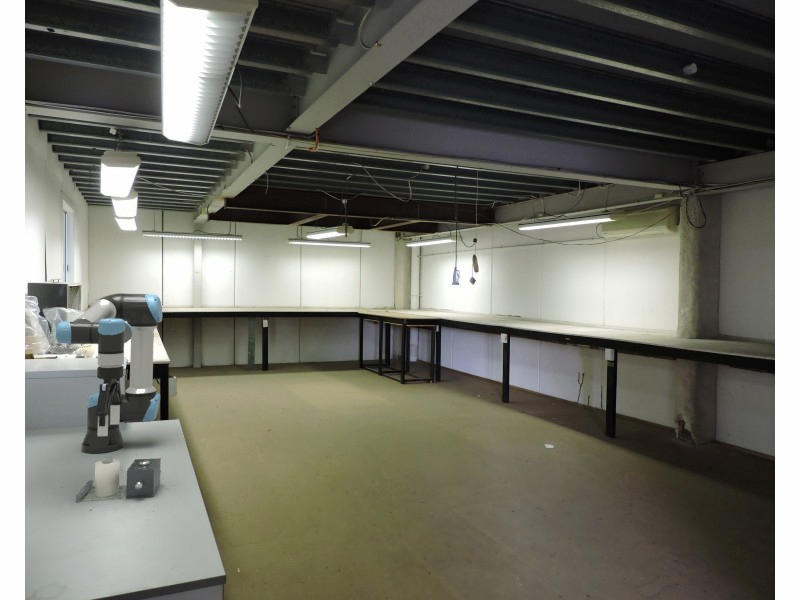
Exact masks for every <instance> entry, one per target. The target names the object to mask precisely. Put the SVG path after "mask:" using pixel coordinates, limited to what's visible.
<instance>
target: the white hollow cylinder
mask: <svg viewBox="0 0 800 600" xmlns="http://www.w3.org/2000/svg"><path fill="white" fill-rule="evenodd" d="M120 463H121V462H120V459H118V458H113V457H112V456H108V457H103V458H102V459H101V460H98V461H96V462H95V463H94V487H95V491H94V495H95V496H98V497H106V496H111V495H114V494H116V493H118V492H119V486H120V466H121V465H120Z"/></svg>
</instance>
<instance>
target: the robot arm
mask: <svg viewBox="0 0 800 600" xmlns="http://www.w3.org/2000/svg"><path fill="white" fill-rule="evenodd" d="M162 321H163V306H162V301H161V299H160V297H159V296H158V295H157V294H152V293H151V294H149V293H119V292H118V293H113V294H108V295H106V296H102V297H100V298H98V299H96V300H95V301H93V302H92V303H91V304H90V306H89V309H87V310H86V311H85V312H84V313H82V314H81V315H80V316H78V317H77V318H76V319H74V320H73V321H70V320H68V321H59V322H58V323H57V326H56V328H55V339H56V341H57V342H58V344H63V345H65V344H66V345H97V355H96V356H95V359H97V365H98V366H97V368H96V369H97V371H96V377H97V379H99V380H103V383H100V384H99V391H98V392H97V393H93V394H92V395H90V396H89V397H88V399H87V400H88V401H87V406H86V407H87V418H86V419H87V422H86V424H87V426H86V433H85V436H84V437H83V440H82V443H81V451H82V452H83V453H86V454H103V453H111V452H114V451H117V450H121V449H122V448H123V447H124V445H125V444H124V438H123V435H122V434H123V433H122V431H121V430H120V423H145V422H153V421H154V420H156V418H157V415H158V412H159V408H160V403H161V402H160V401H161V394H160V393H159V392H157V388H156V387H155V386H153V381H154V380H153V377H154V376H153V375H154V373H153V372H154V341H155V340H154V339H155V338H154V336H155V333H154V332H155V330H156V328H158V326H159V323H161V322H162ZM129 341H130V357H129V359H130V364H129V367H130V368H129V369H130V370H129V387H128V388H127V389H125V393H122V390H121V389H122V388H121V378H124V377H123V376H124V369H125V366H123V365H124V363H125V344H126V343H128V342H129Z"/></svg>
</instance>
